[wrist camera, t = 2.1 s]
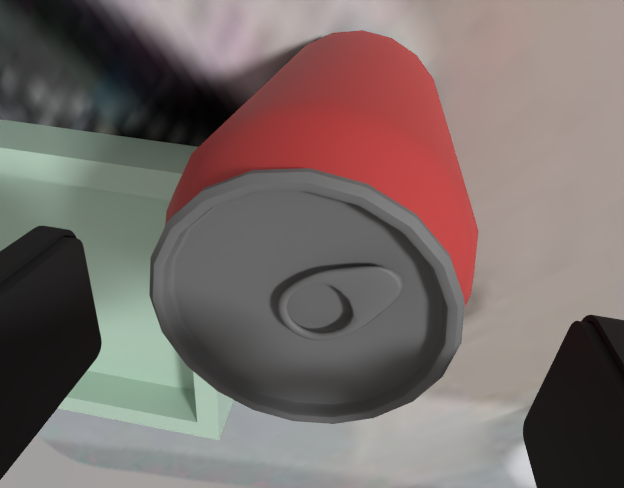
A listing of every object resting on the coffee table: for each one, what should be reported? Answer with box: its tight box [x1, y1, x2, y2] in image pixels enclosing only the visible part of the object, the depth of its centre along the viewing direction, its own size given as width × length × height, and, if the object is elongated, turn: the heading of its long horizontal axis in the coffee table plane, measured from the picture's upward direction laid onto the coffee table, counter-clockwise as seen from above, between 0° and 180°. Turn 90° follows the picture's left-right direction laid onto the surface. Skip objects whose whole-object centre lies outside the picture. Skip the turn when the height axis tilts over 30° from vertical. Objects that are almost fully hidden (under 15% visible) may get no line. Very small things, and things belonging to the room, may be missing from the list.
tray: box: [0, 119, 234, 440], centre depth 23 cm, size 16×16×3 cm
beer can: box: [149, 31, 478, 424], centre depth 13 cm, size 7×7×12 cm
